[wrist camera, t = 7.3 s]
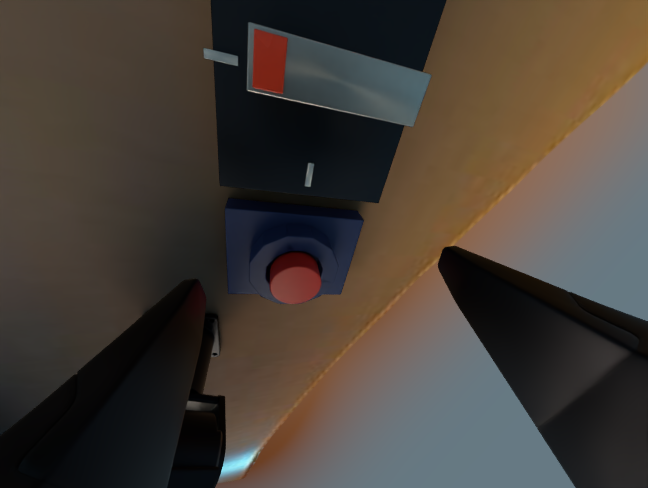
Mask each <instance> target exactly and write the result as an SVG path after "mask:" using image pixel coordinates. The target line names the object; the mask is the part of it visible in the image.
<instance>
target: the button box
mask: <svg viewBox="0 0 648 488" xmlns="http://www.w3.org/2000/svg"><path fill="white" fill-rule="evenodd" d="M363 222H364V220H363V218H362V217H361V215H360V214H359V212H358V211H355V210H345V209H335V208H325V207H315V206H305V205H295V204H284V203H274V202H264V201H254V200H244V199H234V198H228V201H227V204H226V206H225V227H226V253H227V279H228V294H259V295H260V296H261V297H264V298H266V299H269V300H271V301H273V302H276V303H278V304H288V303H284V302H281V301H279V300H277V299H276V298H275V297H274V296H273V295H272V293H271V291H270V267H271V265H272V263H273V262H274V260H275V259H276V258H278V257H279V256H281V255H282V254H285V253H288V252H294V251H298V252H304V253H307V254H309V255H310V256H312V257H313V258H314V259H315V261H316V262H317V265H318V269H319V273H320V277H321V287H320V290H319V292H318V293H317V294H316V295H315V296H314V297H313V298H312V299H314V298H317V297H319V296H321V295H322V294H341V292H342V289H343V286H344V282H345V279H346V276H347V273H348V270H349V267H350V263H351V260H352V257H353V254H354V251H355V247H356V244H357V241H358V238H359V235H360V231H361V228H362V225H363ZM312 299H310V300H312ZM308 301H309V300H308ZM303 303H304V302H303ZM298 304H300V303H298Z"/></svg>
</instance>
